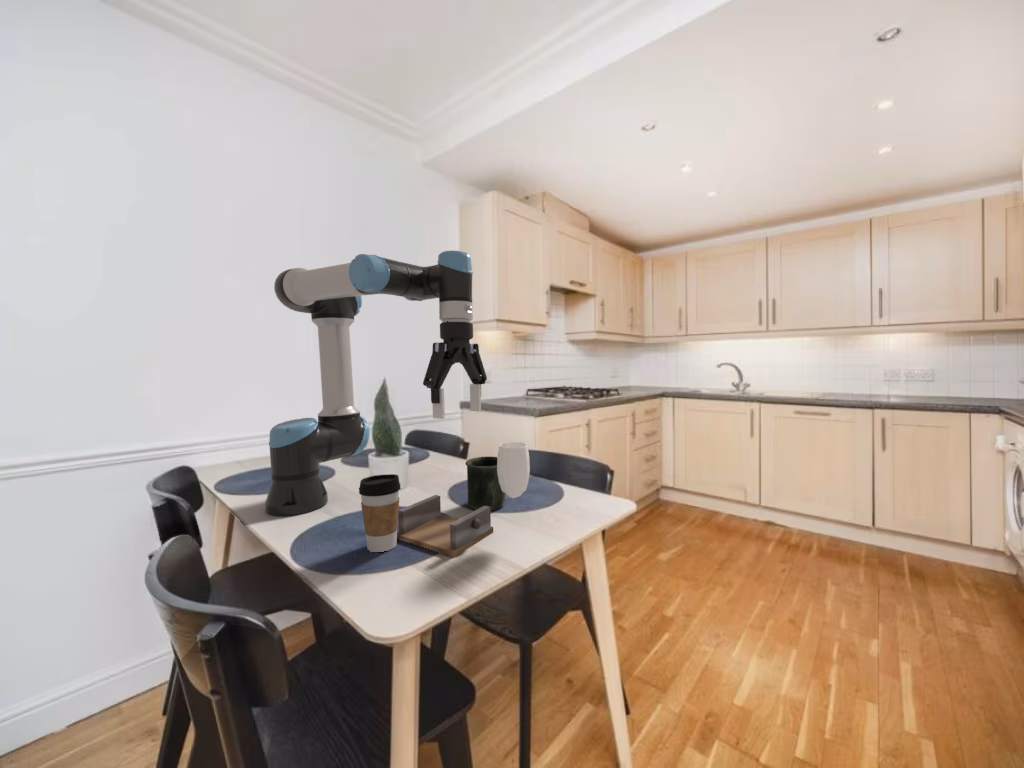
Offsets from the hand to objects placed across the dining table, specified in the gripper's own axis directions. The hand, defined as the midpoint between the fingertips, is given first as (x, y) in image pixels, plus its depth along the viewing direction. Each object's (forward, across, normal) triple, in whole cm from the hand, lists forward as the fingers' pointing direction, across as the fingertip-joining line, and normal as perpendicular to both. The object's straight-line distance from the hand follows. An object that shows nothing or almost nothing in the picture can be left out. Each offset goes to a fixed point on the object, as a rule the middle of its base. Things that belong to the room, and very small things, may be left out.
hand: (458, 414), depth 96 cm
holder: (+27, -5, 0) cm, 27 cm away
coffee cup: (+27, -16, +8) cm, 33 cm away
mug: (+27, +17, +4) cm, 32 cm away
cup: (+27, +1, -14) cm, 30 cm away
